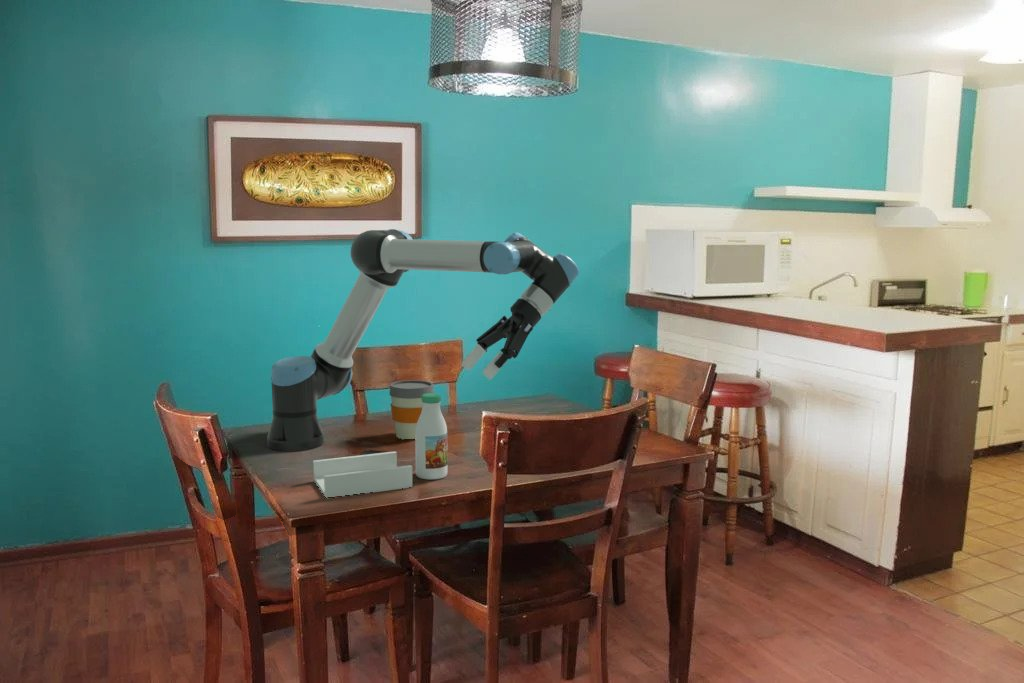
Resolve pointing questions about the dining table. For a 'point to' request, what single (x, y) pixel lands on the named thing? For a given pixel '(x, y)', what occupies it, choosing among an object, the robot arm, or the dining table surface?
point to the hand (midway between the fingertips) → (475, 371)
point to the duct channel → (361, 474)
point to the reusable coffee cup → (408, 405)
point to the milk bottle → (431, 440)
